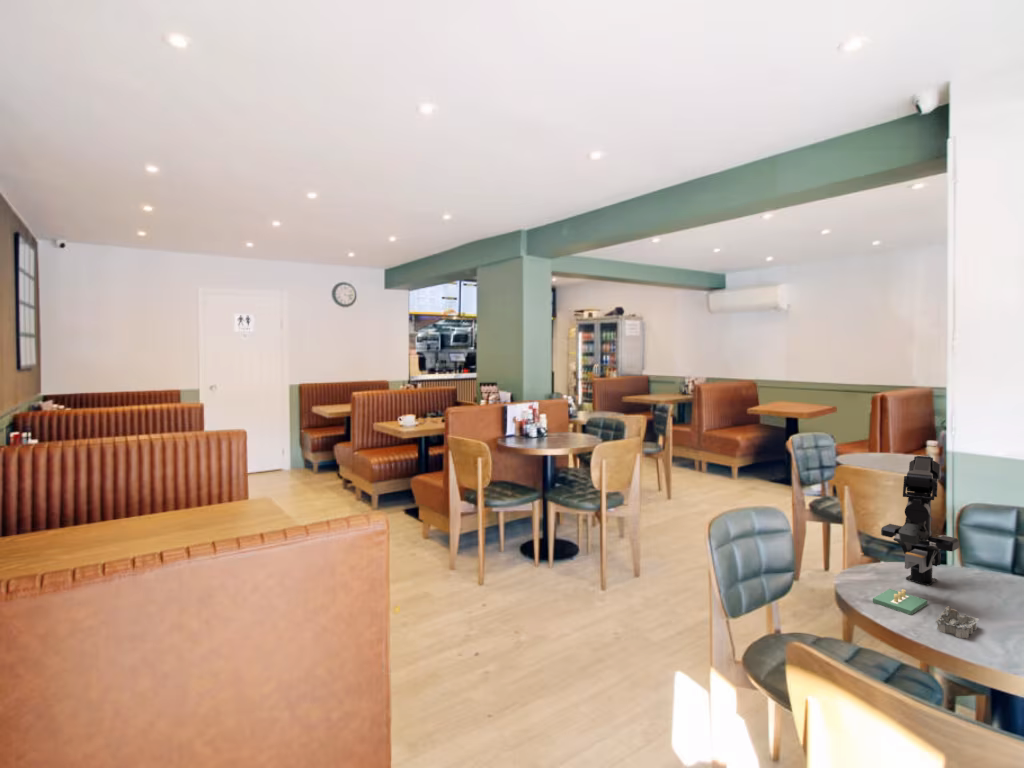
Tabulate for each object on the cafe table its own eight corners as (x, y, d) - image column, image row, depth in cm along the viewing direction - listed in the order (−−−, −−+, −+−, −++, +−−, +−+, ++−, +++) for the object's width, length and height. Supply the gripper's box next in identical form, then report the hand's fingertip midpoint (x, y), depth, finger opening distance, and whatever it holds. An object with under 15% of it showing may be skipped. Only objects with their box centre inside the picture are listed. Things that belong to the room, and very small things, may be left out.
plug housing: (914, 562, 174) (914, 547, 173) (932, 567, 170) (932, 552, 170) (904, 568, 170) (904, 552, 170) (922, 573, 166) (922, 557, 166)
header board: (889, 592, 173) (889, 581, 173) (927, 604, 165) (927, 593, 165) (872, 602, 167) (872, 591, 167) (910, 614, 159) (911, 603, 159)
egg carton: (947, 618, 157) (948, 604, 156) (981, 629, 150) (981, 614, 150) (932, 629, 151) (932, 615, 151) (966, 641, 145) (966, 626, 144)
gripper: (872, 512, 172) (872, 561, 173) (945, 527, 157) (944, 581, 158) (889, 505, 178) (889, 553, 179) (960, 519, 163) (959, 571, 164)
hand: (918, 564), depth 170 cm, fingers closed on plug housing, 5 cm apart
